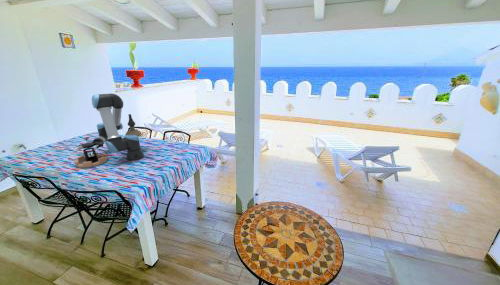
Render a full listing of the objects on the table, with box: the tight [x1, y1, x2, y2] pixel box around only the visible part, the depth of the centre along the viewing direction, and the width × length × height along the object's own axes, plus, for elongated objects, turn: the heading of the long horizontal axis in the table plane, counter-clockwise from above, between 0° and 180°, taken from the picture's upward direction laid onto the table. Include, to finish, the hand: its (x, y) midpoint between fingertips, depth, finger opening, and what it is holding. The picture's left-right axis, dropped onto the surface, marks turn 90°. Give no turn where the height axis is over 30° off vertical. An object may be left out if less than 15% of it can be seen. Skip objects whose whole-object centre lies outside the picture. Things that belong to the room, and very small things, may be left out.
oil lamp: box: [124, 114, 143, 152], centre depth 213 cm, size 15×15×40 cm
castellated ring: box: [74, 151, 108, 169], centre depth 190 cm, size 24×24×6 cm
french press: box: [82, 137, 98, 163], centre depth 186 cm, size 12×9×23 cm
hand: (86, 149), depth 182 cm, fingers open, 13 cm apart
